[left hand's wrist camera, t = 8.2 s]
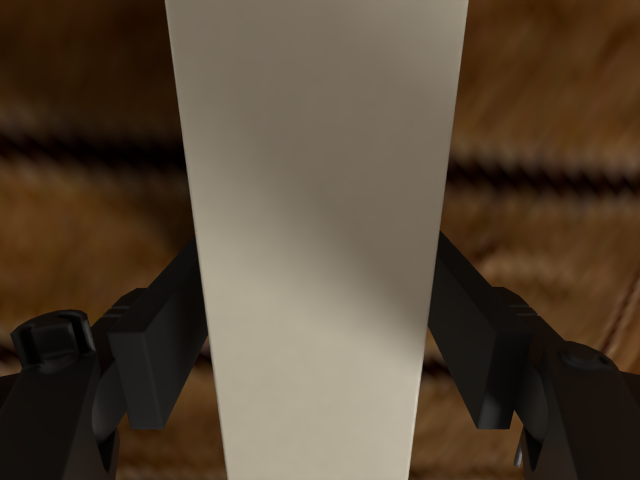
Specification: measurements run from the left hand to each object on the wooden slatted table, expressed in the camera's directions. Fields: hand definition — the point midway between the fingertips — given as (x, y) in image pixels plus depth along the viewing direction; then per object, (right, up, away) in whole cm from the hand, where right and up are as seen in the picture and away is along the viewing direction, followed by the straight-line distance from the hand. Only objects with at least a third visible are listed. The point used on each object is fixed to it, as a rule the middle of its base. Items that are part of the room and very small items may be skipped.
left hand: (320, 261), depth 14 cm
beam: (0, +11, -4) cm, 12 cm away
